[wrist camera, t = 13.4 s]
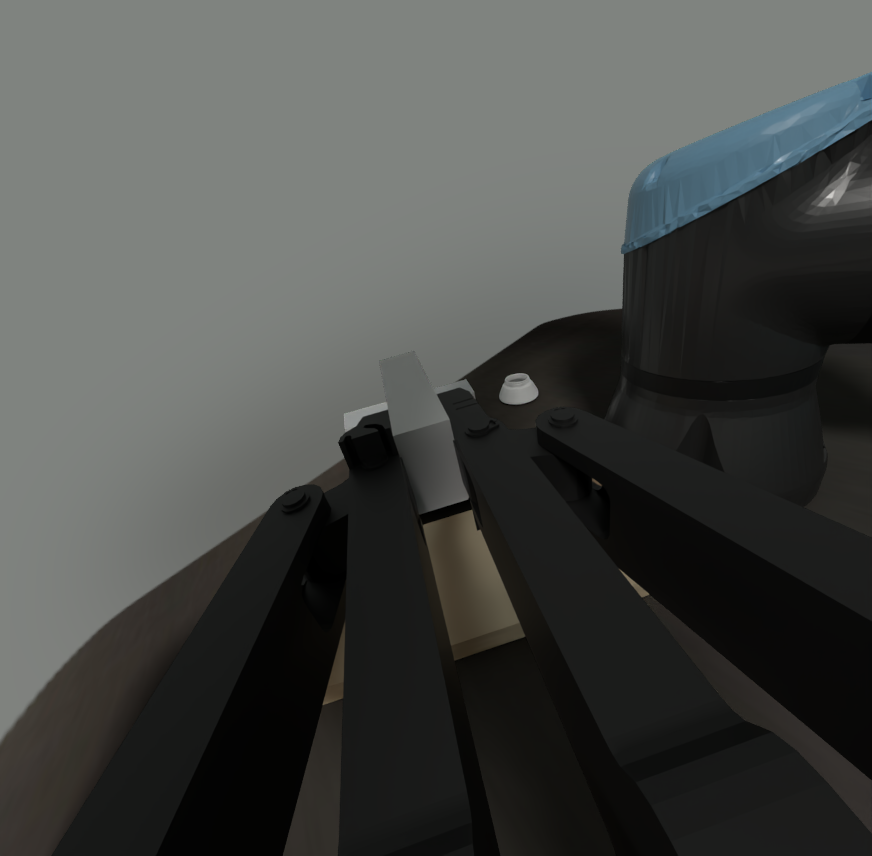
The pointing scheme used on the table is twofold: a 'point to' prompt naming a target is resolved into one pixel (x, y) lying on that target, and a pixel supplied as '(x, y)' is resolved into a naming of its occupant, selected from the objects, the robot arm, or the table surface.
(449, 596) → the cart bed
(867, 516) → the table surface
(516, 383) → the white jar
